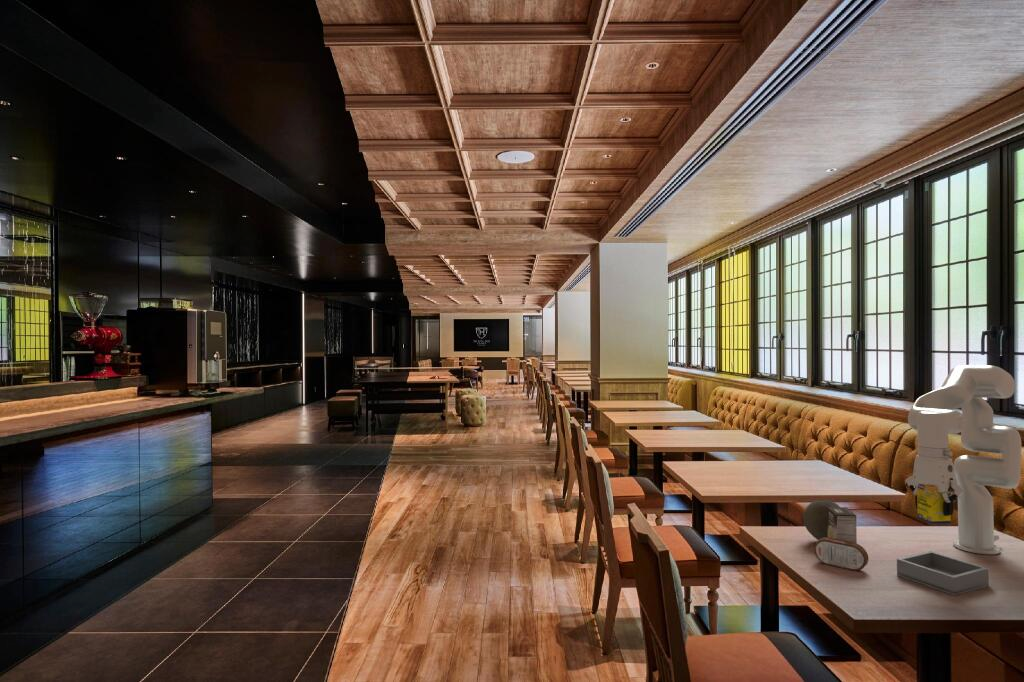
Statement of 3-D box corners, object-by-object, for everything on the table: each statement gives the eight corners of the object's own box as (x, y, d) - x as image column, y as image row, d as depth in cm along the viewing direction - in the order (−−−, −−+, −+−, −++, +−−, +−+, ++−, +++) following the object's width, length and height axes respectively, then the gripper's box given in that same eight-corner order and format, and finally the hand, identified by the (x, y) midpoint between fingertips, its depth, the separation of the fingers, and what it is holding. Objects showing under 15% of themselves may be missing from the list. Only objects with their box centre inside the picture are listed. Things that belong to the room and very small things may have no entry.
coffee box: (826, 554, 197) (826, 506, 197) (847, 555, 196) (847, 507, 196) (836, 564, 188) (835, 513, 188) (858, 565, 187) (857, 514, 187)
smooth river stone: (822, 535, 217) (821, 494, 217) (858, 546, 204) (858, 503, 204) (795, 540, 211) (794, 498, 211) (830, 553, 198) (829, 508, 198)
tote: (930, 567, 185) (930, 551, 185) (988, 585, 170) (988, 568, 170) (897, 575, 178) (896, 558, 179) (954, 595, 164) (954, 577, 164)
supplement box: (917, 518, 179) (916, 482, 179) (935, 517, 180) (935, 481, 180) (932, 524, 173) (931, 487, 173) (951, 523, 174) (950, 486, 174)
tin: (868, 571, 182) (868, 544, 182) (866, 574, 180) (866, 547, 180) (816, 560, 192) (815, 534, 192) (813, 562, 190) (812, 536, 190)
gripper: (972, 456, 170) (973, 518, 170) (912, 447, 186) (913, 503, 186) (956, 458, 167) (957, 521, 167) (896, 449, 183) (897, 506, 183)
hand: (934, 511), depth 177 cm, fingers closed on supplement box, 7 cm apart
